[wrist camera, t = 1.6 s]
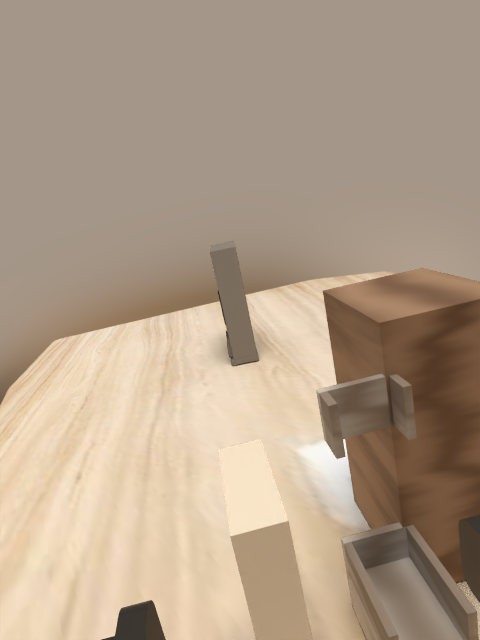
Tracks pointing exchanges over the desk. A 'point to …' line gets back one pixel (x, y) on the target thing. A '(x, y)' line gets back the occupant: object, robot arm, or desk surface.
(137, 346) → the desk surface
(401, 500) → the cabinet
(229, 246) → the cassette tape recorder
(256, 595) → the beige rectangular block
